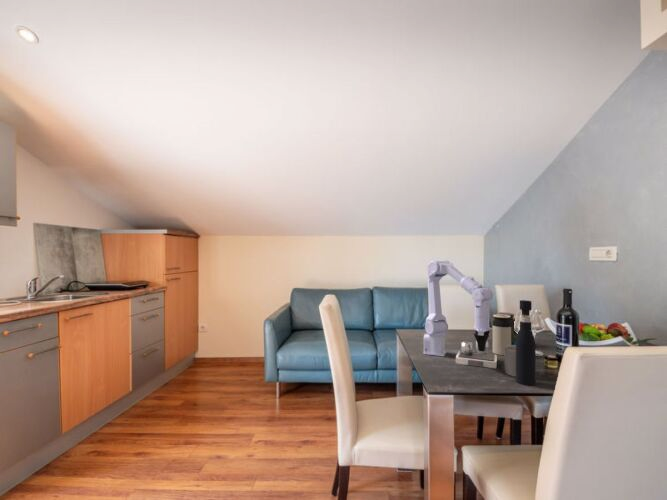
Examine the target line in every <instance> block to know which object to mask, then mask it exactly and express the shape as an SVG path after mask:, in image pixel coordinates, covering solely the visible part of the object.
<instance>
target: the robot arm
mask: <svg viewBox="0 0 667 500" xmlns="http://www.w3.org/2000/svg"><path fill="white" fill-rule="evenodd" d="M447 275H449V276H450V277H451V278H453V279H454V280H456V281H457V282H459V283H460V287H461V288H462V289H463V290H464V291H465V292H467V293H468V294H470V296H471V299H472V300H473V305H474V326H473V329H474V330H475V331H474V332H473V336H474V338H475V342H476V341H477V345H478V350H479V351H483V352H484V351H485V346H486V341H488V339H489V337H490V335H489V334H490V332H491V331H493V327H490V301H491V300H492V299H493V296H494V295H493V294H494V293H493V291H492V290H491V288H490V287H488V286H483V284H482V283H479V282H478V281H476V280H475V278H474V277H472V276H466V275H464V274H463V273H462V272H461V271H459V269H458V268H456V267H455V266H454V264H453V263H451V262H450V260H431V261H430V262H429V263H428V265H427V277H426V280H427V292H428V293H427V295H428V303H429V304H428V306H429V308H428V309H429V314H428V316H427V317H426V318H425V325H424V329H425V332H426V333H424V334H423V353H422V354H423V355H430V356H438V357H445V356H446V354H447V351H445V335H447V334H446V333H447V332H448V330H449V324H448V322H447V317H446V316H445V315H444V314H442V313H443V312H442V310H443V309H442V300H441V298H442V297H441V287H440V281H441V280H442V278H444V277H445V276H447Z"/></svg>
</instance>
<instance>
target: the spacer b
mask: <svg viewBox="0 0 667 500" xmlns="http://www.w3.org/2000/svg"><path fill="white" fill-rule="evenodd" d="M475 352H476V353H477V354H481V355H487V354H489V341H488V340H487V341H486V346H485V351H484V352H483V351H479V350H478V345H477V341H476V340H475Z"/></svg>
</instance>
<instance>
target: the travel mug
mask: <svg viewBox="0 0 667 500" xmlns="http://www.w3.org/2000/svg"><path fill="white" fill-rule="evenodd" d="M492 316H493V320H492V328H493V330H492V354H494V355H497V356H505V346H507V345H511V322H510V317H511V316H509V315H502V314H498V313H497V314H493V315H492Z"/></svg>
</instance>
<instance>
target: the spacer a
mask: <svg viewBox="0 0 667 500" xmlns="http://www.w3.org/2000/svg"><path fill="white" fill-rule="evenodd" d="M473 346H474V343H473V342H471V341H467V340H466V341H460V351H461V354H462V355H467V356H471V355H473V352H474V351H473Z"/></svg>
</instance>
